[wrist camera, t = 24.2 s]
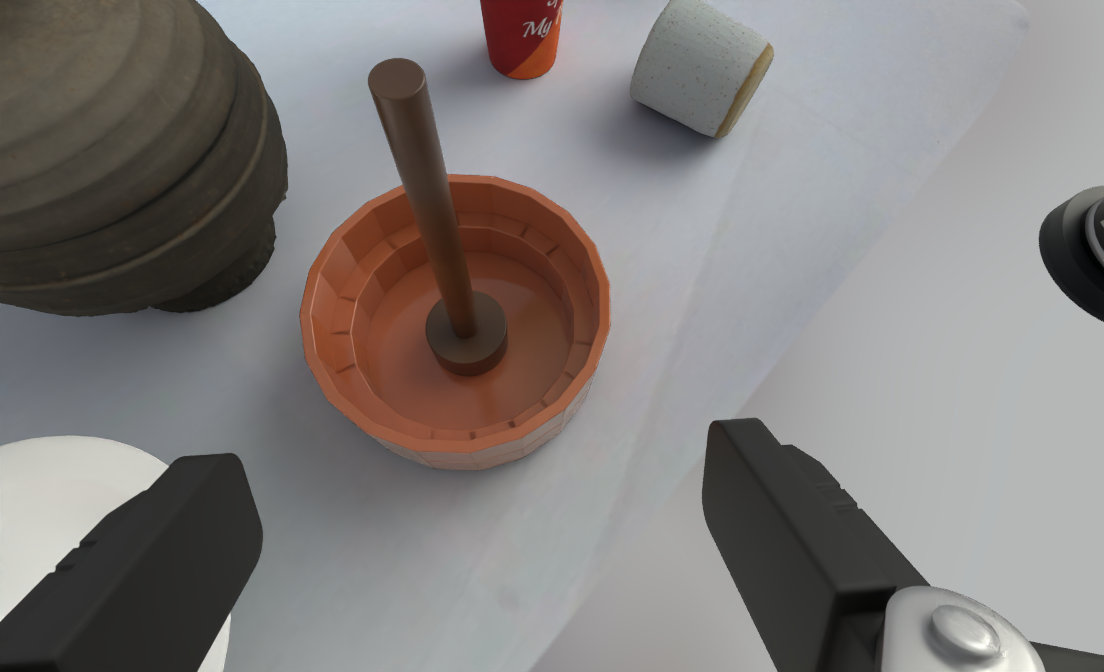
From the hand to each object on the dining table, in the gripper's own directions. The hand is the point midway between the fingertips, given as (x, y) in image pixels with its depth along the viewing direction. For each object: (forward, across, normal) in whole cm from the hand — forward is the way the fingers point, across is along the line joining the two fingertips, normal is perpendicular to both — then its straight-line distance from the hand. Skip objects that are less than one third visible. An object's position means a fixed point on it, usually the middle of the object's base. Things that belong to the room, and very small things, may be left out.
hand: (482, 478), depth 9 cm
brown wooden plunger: (+23, +2, +7) cm, 25 cm away
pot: (+30, +21, +2) cm, 36 cm away
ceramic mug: (+38, -16, -6) cm, 42 cm away
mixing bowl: (+24, +2, +8) cm, 25 cm away
